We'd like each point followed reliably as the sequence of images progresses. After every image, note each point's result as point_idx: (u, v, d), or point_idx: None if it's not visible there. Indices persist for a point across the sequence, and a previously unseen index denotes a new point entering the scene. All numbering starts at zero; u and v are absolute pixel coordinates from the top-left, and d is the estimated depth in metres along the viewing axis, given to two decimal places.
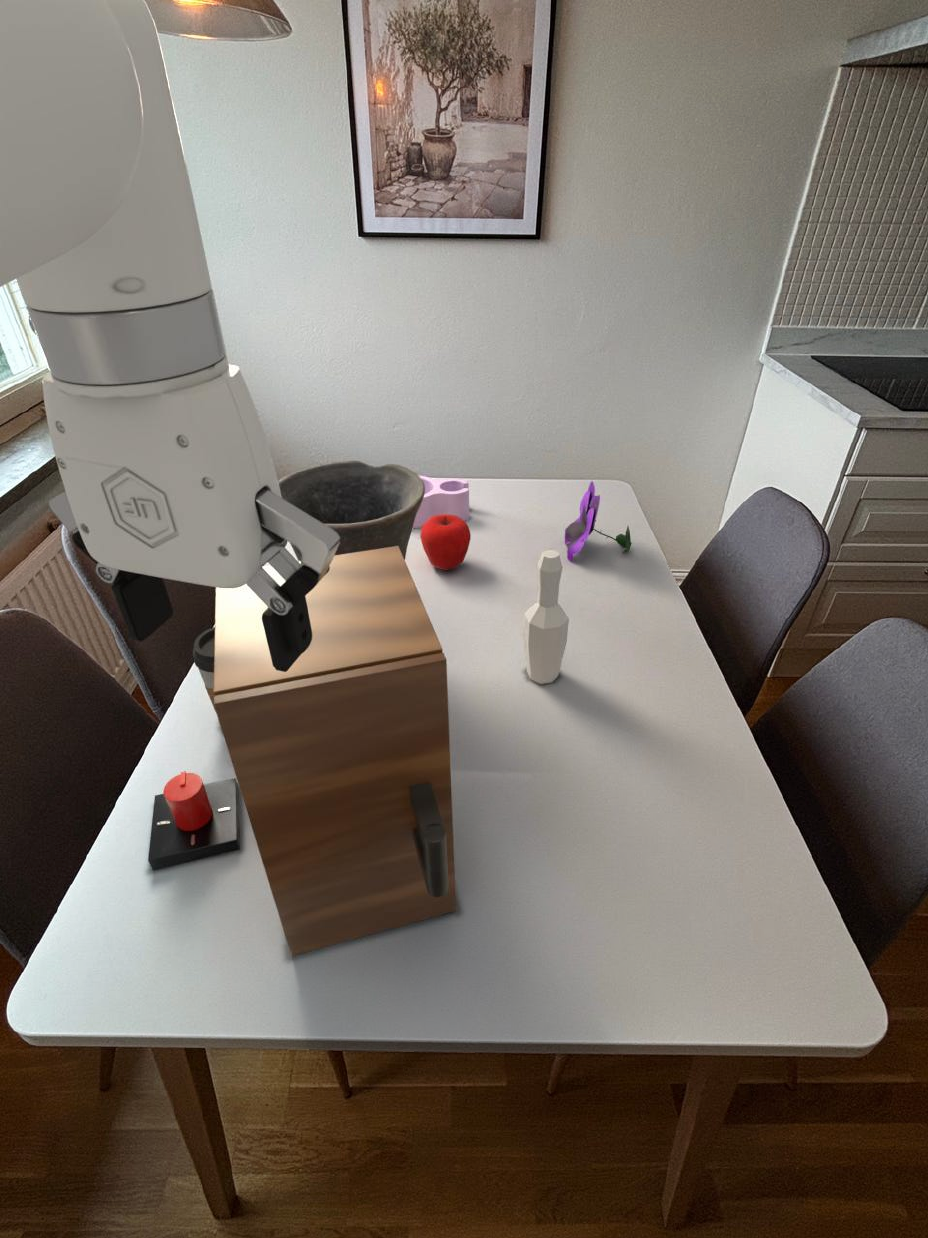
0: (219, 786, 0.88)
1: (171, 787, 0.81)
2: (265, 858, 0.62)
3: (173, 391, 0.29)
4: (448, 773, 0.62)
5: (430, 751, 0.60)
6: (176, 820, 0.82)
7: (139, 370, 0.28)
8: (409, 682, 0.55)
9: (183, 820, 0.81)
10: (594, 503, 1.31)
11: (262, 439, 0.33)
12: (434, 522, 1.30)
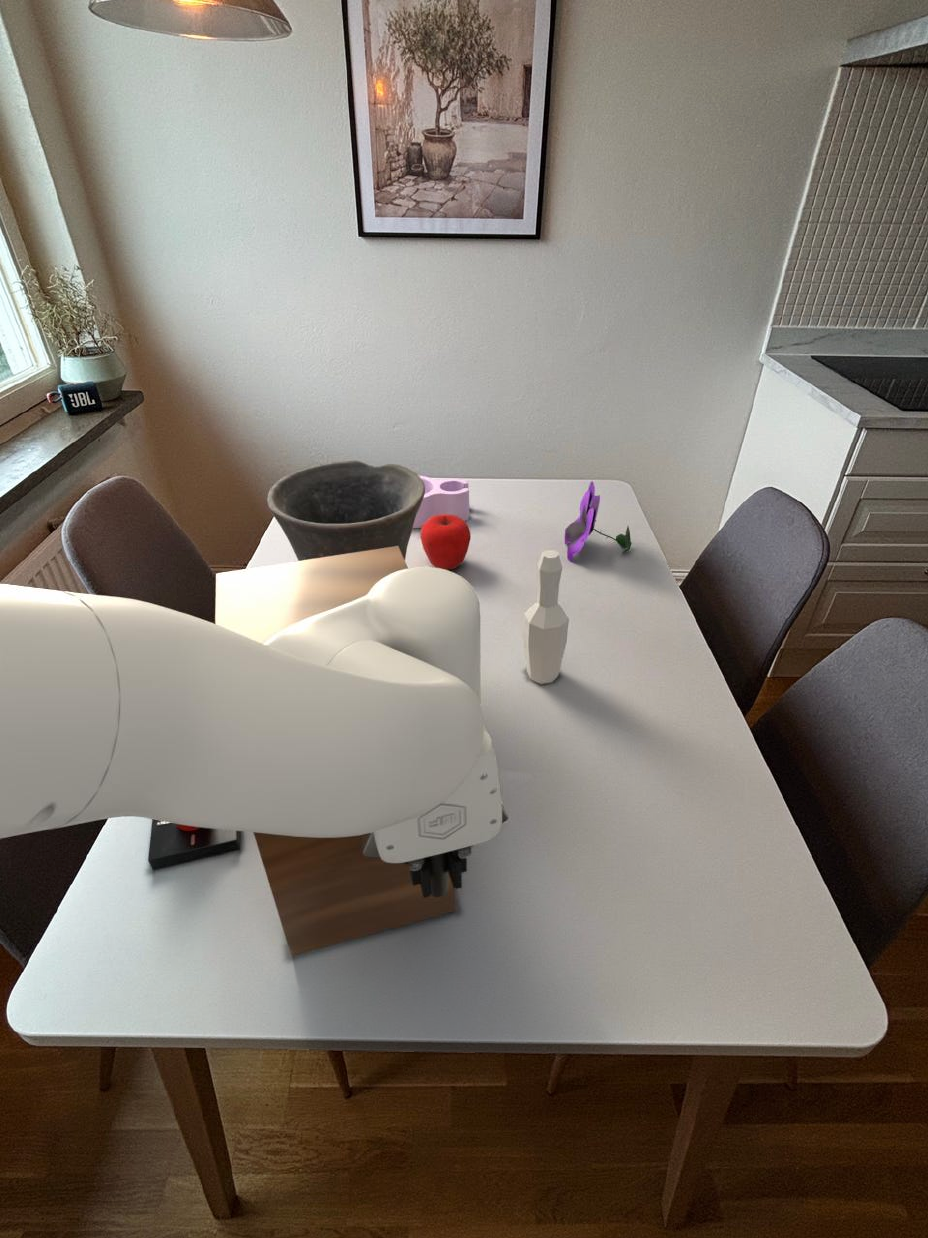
0: None
1: None
2: (265, 858, 0.62)
3: (478, 753, 0.50)
4: None
5: None
6: None
7: None
8: None
9: None
10: (594, 503, 1.31)
11: None
12: (434, 522, 1.30)
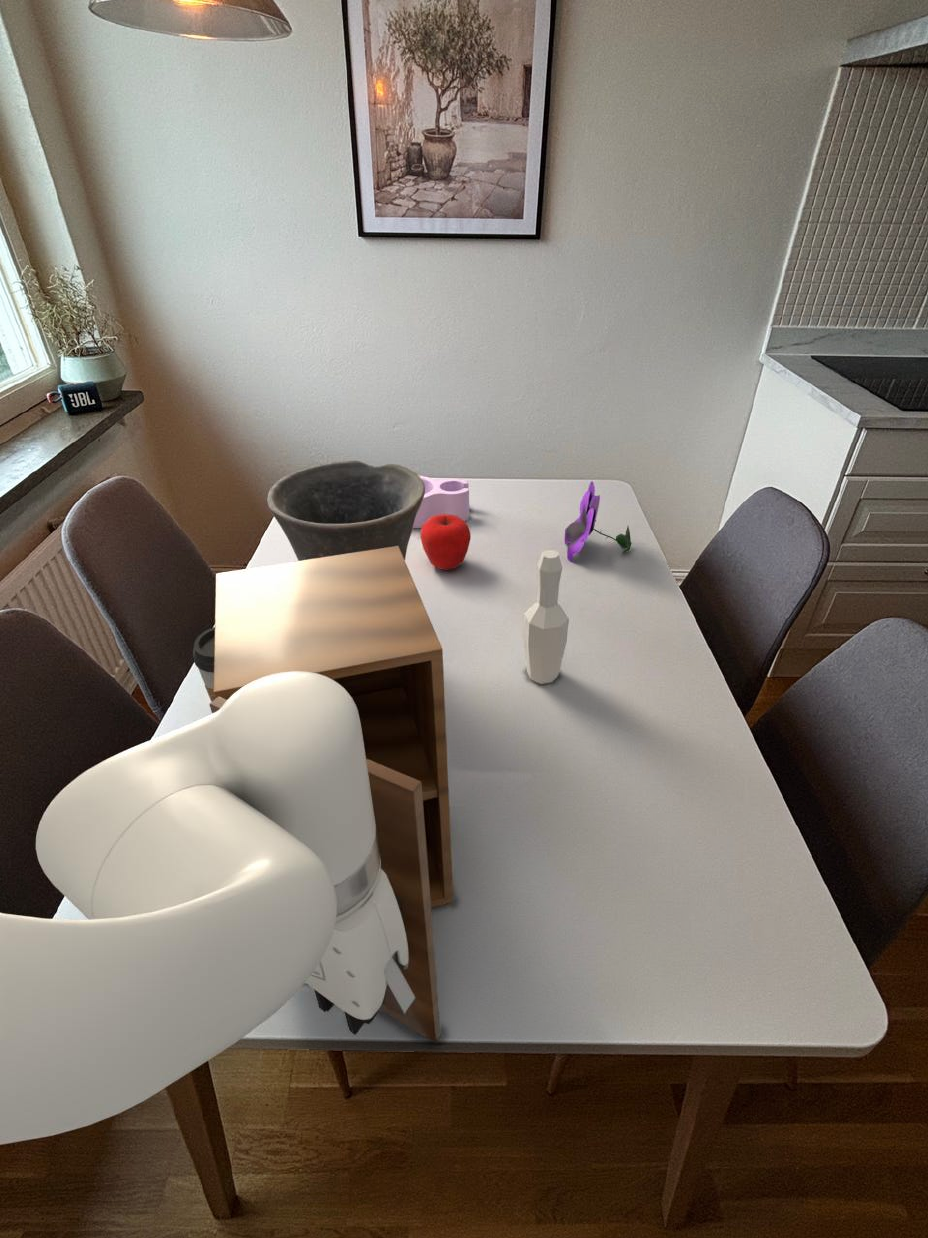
0: None
1: None
2: None
3: (335, 923, 0.39)
4: (420, 908, 0.52)
5: (400, 872, 0.50)
6: None
7: None
8: (375, 790, 0.46)
9: None
10: (594, 503, 1.31)
11: (397, 921, 0.43)
12: (434, 522, 1.30)
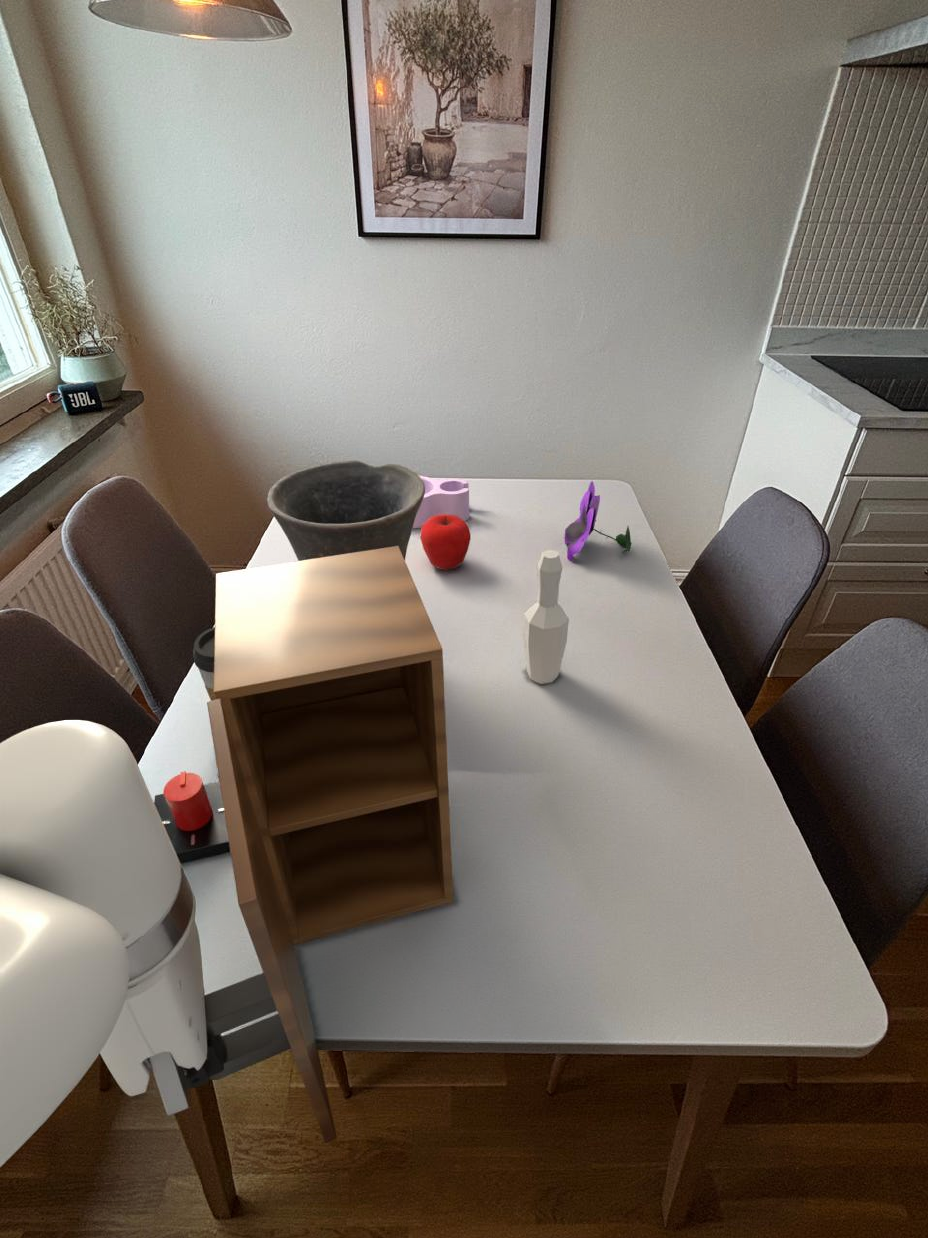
0: (219, 786, 0.88)
1: (171, 787, 0.81)
2: None
3: None
4: (279, 1016, 0.45)
5: None
6: (176, 820, 0.82)
7: None
8: None
9: (183, 820, 0.81)
10: (594, 503, 1.31)
11: (169, 1024, 0.38)
12: (434, 522, 1.30)
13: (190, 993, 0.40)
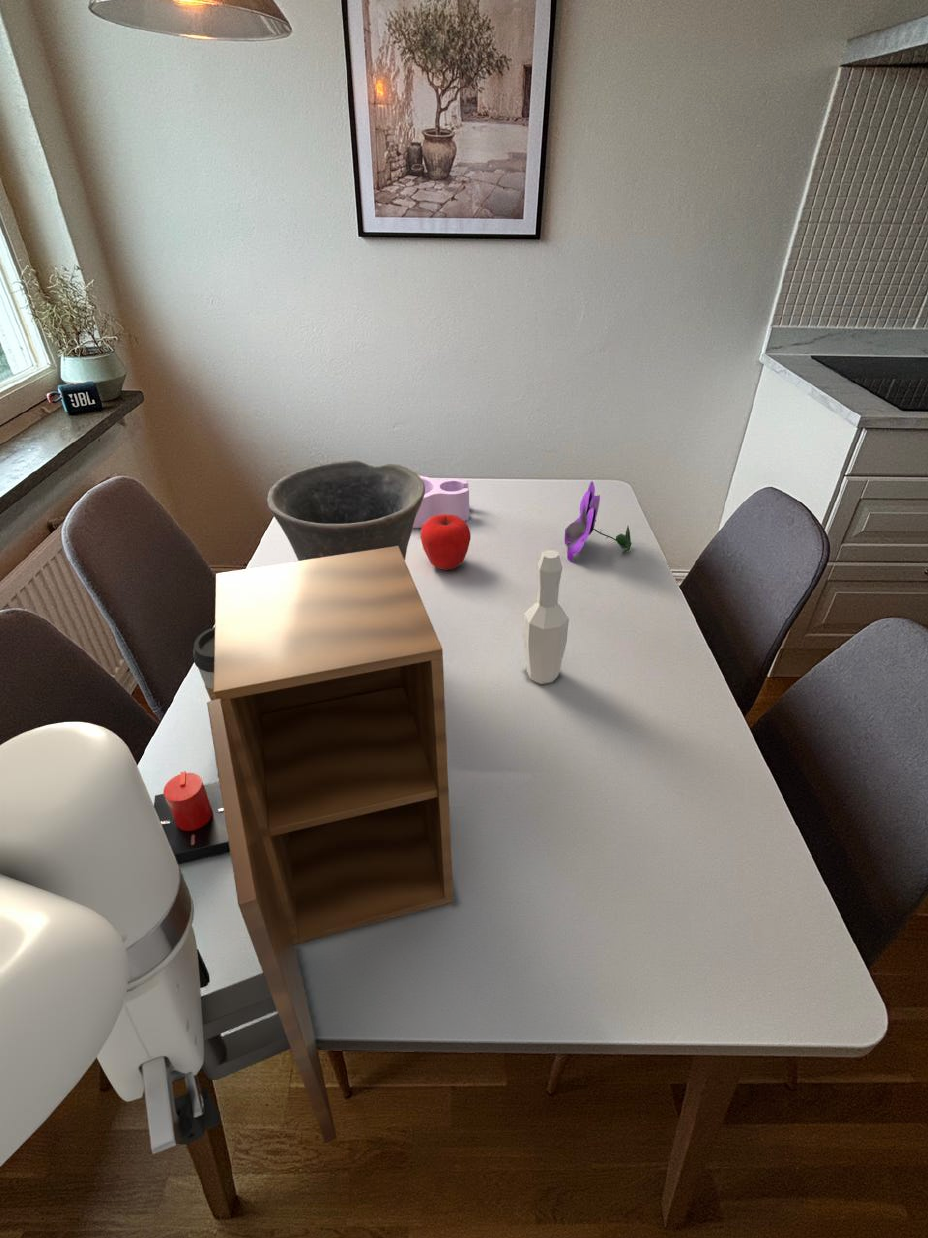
0: (219, 786, 0.88)
1: (171, 787, 0.81)
2: None
3: None
4: (279, 1016, 0.45)
5: None
6: (176, 820, 0.82)
7: None
8: None
9: (183, 820, 0.81)
10: (594, 503, 1.31)
11: (167, 1028, 0.38)
12: (434, 522, 1.30)
13: (187, 997, 0.40)
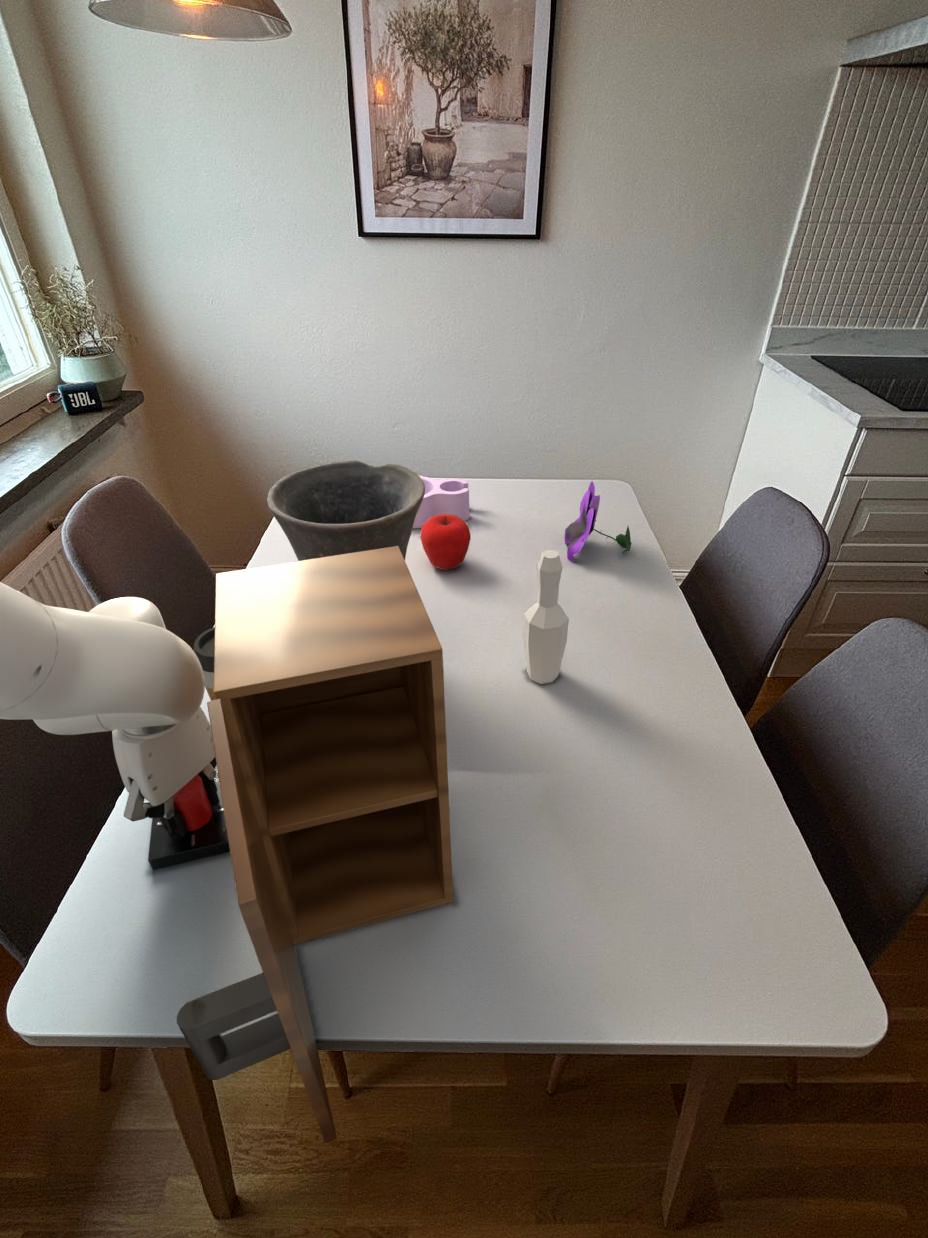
0: (219, 786, 0.88)
1: None
2: None
3: None
4: (279, 1016, 0.45)
5: None
6: None
7: None
8: None
9: None
10: (594, 503, 1.31)
11: (136, 768, 0.72)
12: (434, 522, 1.30)
13: (159, 765, 0.74)
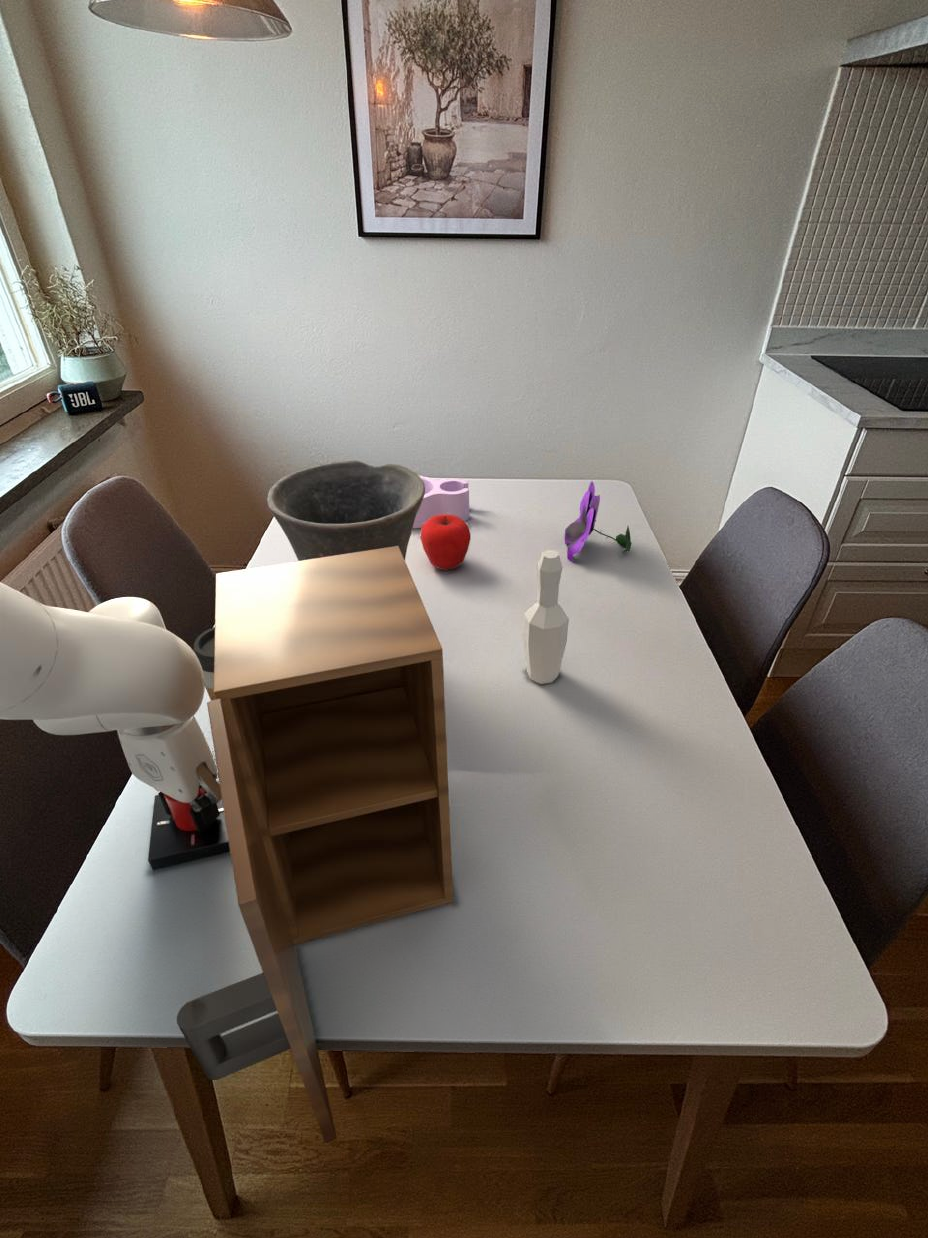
0: None
1: None
2: None
3: (160, 736, 0.71)
4: (279, 1016, 0.45)
5: None
6: None
7: (146, 732, 0.71)
8: None
9: None
10: (594, 503, 1.31)
11: (203, 742, 0.75)
12: (434, 522, 1.30)
13: None
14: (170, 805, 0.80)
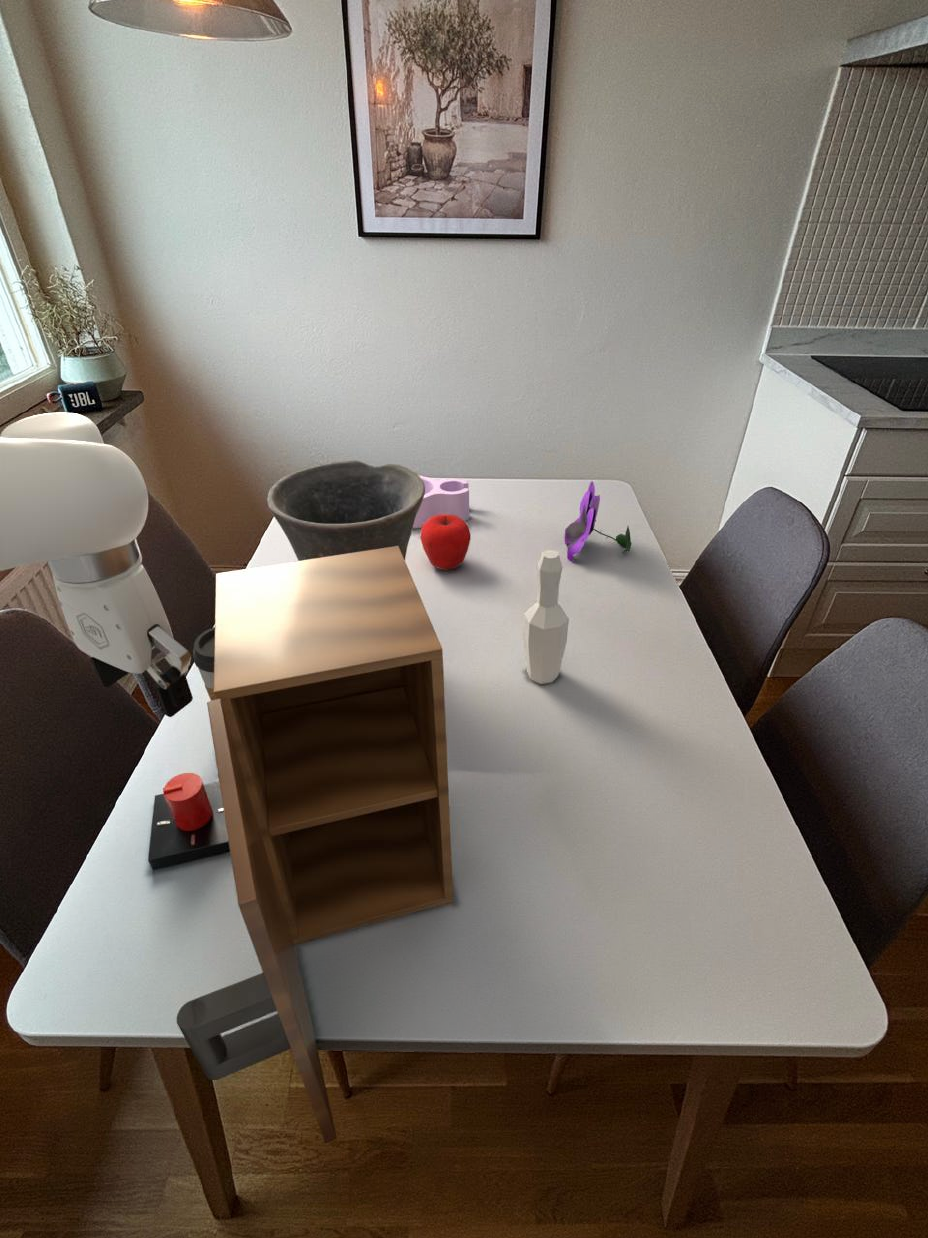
0: (219, 786, 0.88)
1: (180, 795, 0.80)
2: None
3: (102, 585, 0.61)
4: (279, 1016, 0.45)
5: None
6: (204, 814, 0.82)
7: (85, 578, 0.60)
8: None
9: (208, 805, 0.83)
10: (594, 503, 1.31)
11: (155, 601, 0.64)
12: (434, 522, 1.30)
13: None
14: (171, 805, 0.80)
